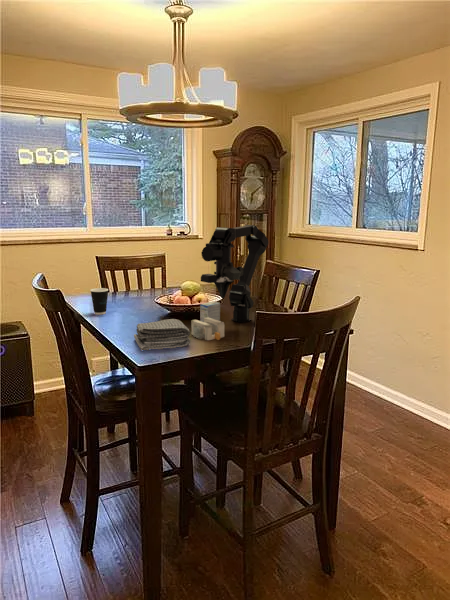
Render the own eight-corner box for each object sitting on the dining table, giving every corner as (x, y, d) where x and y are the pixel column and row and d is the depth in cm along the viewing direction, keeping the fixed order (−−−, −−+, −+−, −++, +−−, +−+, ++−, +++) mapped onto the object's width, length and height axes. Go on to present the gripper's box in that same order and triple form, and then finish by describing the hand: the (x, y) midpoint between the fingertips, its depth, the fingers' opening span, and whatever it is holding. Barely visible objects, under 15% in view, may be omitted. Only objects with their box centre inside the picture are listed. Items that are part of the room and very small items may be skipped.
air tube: (214, 332, 178) (214, 322, 177) (220, 334, 175) (220, 324, 174) (193, 336, 172) (193, 326, 171) (199, 339, 169) (199, 328, 168)
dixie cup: (105, 315, 202) (104, 291, 200) (88, 315, 203) (87, 290, 201) (111, 311, 210) (110, 288, 208) (95, 311, 211) (93, 287, 209)
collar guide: (208, 331, 180) (208, 317, 179) (227, 337, 171) (227, 323, 170) (191, 334, 175) (191, 320, 174) (210, 341, 166) (210, 326, 165)
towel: (191, 347, 159) (191, 326, 158) (138, 352, 154) (138, 329, 152) (182, 335, 174) (181, 315, 172) (133, 339, 168) (132, 319, 166)
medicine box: (212, 321, 196) (212, 301, 194) (220, 322, 193) (220, 302, 191) (199, 324, 190) (200, 304, 188) (207, 326, 187) (208, 305, 185)
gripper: (217, 263, 169) (217, 304, 172) (254, 259, 181) (253, 298, 184) (199, 260, 178) (199, 299, 181) (236, 257, 189) (235, 294, 193)
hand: (222, 297), depth 184 cm, fingers closed
